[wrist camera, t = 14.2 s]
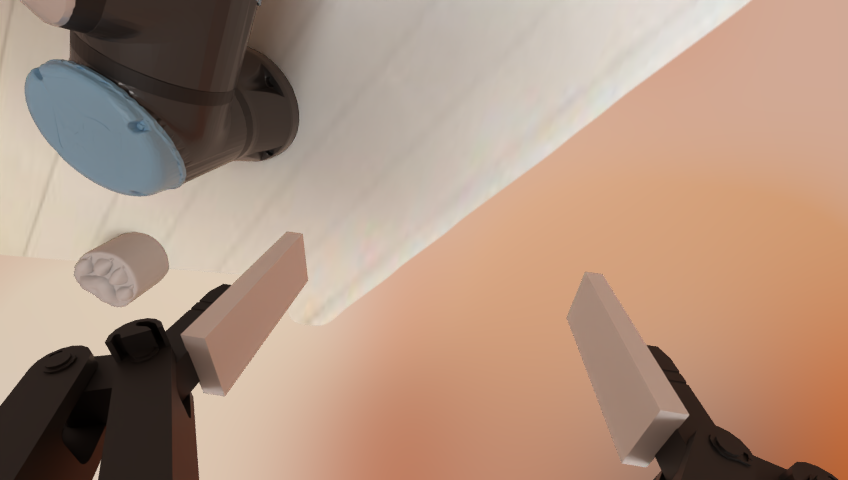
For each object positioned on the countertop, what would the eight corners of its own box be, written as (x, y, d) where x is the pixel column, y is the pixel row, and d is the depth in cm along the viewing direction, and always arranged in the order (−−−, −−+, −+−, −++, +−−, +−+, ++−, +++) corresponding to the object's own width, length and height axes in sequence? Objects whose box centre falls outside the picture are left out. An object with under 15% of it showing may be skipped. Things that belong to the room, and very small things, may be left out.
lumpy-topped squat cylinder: (105, 256, 65) (58, 282, 58) (129, 219, 60) (81, 242, 53) (153, 290, 68) (114, 318, 61) (179, 257, 63) (140, 284, 56)
